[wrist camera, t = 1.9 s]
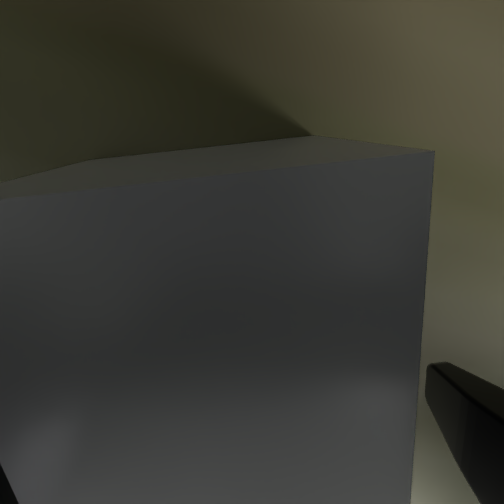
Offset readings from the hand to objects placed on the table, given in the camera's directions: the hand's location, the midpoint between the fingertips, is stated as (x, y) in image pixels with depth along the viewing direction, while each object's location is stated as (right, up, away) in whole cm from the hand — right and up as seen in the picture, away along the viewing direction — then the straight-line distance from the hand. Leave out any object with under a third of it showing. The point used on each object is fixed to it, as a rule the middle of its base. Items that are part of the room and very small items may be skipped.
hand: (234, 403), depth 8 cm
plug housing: (0, +1, +2) cm, 2 cm away
